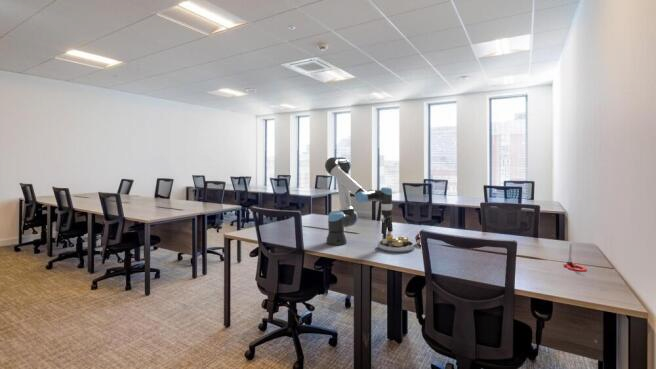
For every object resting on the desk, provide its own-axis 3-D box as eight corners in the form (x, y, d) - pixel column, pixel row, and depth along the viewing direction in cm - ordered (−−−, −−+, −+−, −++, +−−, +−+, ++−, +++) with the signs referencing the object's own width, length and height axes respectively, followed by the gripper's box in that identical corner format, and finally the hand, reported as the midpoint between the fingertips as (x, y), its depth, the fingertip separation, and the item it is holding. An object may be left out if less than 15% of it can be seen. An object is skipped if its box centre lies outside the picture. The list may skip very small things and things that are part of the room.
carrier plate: (372, 250, 221) (372, 239, 221) (386, 242, 242) (386, 232, 241) (407, 254, 208) (407, 243, 208) (418, 246, 229) (418, 236, 228)
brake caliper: (430, 239, 238) (431, 228, 231) (432, 251, 230) (433, 240, 223) (414, 239, 241) (415, 228, 233) (415, 251, 233) (416, 240, 225)
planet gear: (380, 242, 227) (380, 235, 227) (384, 240, 233) (384, 233, 233) (390, 243, 223) (390, 236, 223) (394, 241, 229) (394, 234, 229)
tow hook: (590, 271, 172) (574, 265, 181) (592, 248, 170) (576, 243, 179) (576, 272, 171) (561, 266, 180) (577, 249, 169) (562, 243, 178)
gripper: (386, 211, 216) (386, 245, 218) (397, 208, 233) (397, 239, 235) (375, 211, 221) (376, 244, 222) (387, 207, 237) (387, 238, 239)
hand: (387, 241), depth 228 cm, fingers closed on planet gear, 7 cm apart
